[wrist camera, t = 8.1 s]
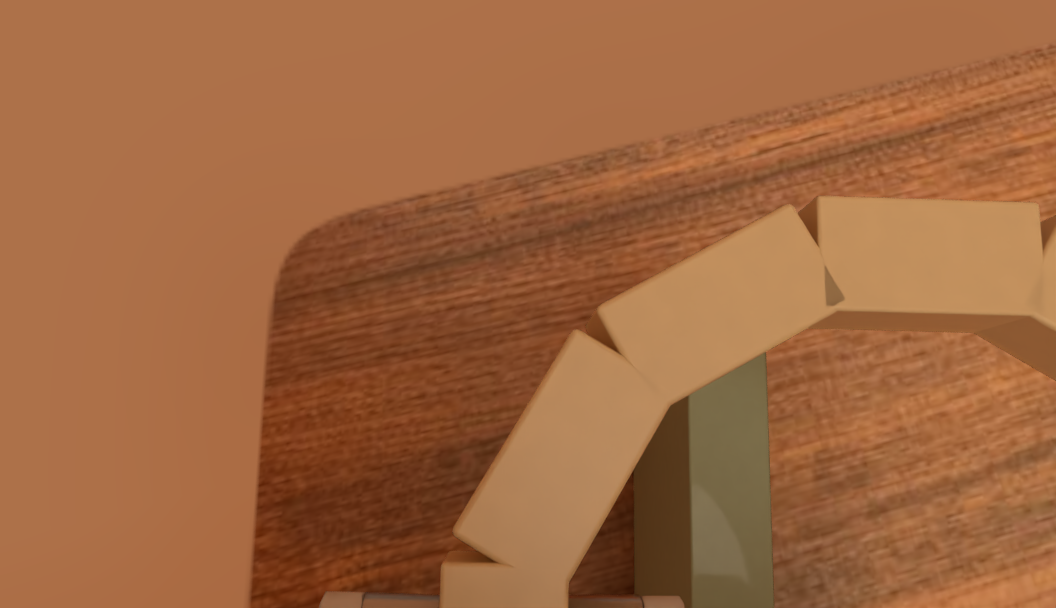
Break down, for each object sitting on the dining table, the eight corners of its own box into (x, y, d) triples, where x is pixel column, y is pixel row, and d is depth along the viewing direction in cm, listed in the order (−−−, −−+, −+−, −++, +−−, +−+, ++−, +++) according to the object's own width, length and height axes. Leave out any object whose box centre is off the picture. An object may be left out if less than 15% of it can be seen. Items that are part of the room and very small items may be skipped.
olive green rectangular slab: (634, 745, 30) (696, 881, 20) (632, 354, 33) (686, 307, 23) (694, 746, 30) (784, 882, 20) (687, 355, 33) (765, 308, 23)
